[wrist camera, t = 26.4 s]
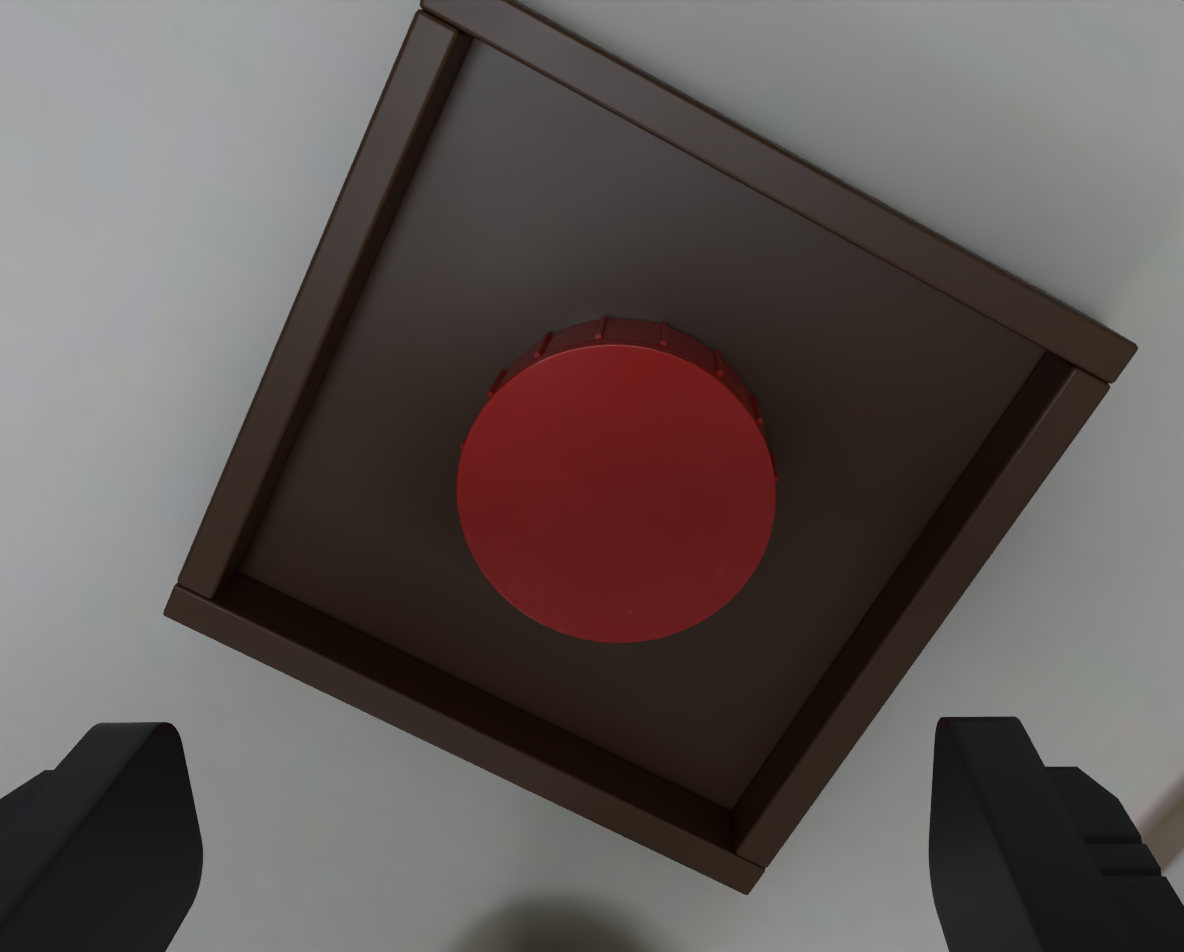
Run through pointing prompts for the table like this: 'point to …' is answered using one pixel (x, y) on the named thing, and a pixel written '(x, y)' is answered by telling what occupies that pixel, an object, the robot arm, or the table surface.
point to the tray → (650, 293)
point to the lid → (618, 482)
